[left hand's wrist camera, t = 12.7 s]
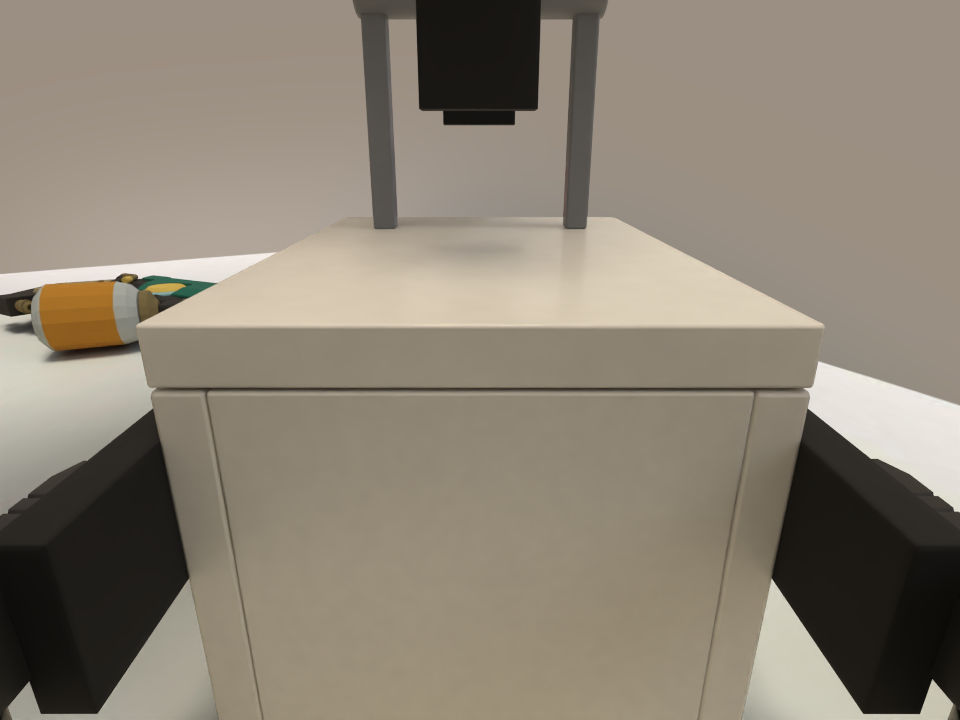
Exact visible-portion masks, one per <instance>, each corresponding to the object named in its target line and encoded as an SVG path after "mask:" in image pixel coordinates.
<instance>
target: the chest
mask: <svg viewBox="0 0 960 720" xmlns="http://www.w3.org/2000/svg"><path fill="white" fill-rule="evenodd" d="M809 399H810V395H809V392H808V391H806V390H805V389H804V388H157V389H155V390H154V391H153V392H152V394H151V400H152V405H153V409H154V414H155V419H156V424H157V428H158V433H159V438H160V443H161V447H162V452H163V457H164V462H165V466H166V471H167V476H168V481H169V485H170V490H171V495H172V500H173V504H174V509H175V514H176V519H177V523H178V528H179V533H180V538H181V542H182V547H183V552H184V557H185V561H186V566H187V571H188V576H189V580H190V585H191V590H192V594H193V599H194V604H195V609H196V613H197V618H198V623H199V628H200V632H201V637H202V642H203V647H204V651H205V656H206V661H207V666H208V670H209V675H210V680H211V685H212V689H213V694H214V699H215V704H216V708H217V713H218V718H219V720H742V716H743V711H744V706H745V701H746V697H747V692H748V687H749V683H750V678H751V673H752V668H753V664H754V659H755V654H756V650H757V645H758V640H759V635H760V631H761V626H762V621H763V616H764V612H765V607H766V602H767V598H768V593H769V588H770V583H771V579H772V574H773V569H774V564H775V560H776V555H777V550H778V546H779V541H780V536H781V531H782V527H783V522H784V517H785V513H786V508H787V503H788V498H789V494H790V489H791V484H792V479H793V475H794V470H795V465H796V461H797V456H798V451H799V446H800V442H801V437H802V432H803V427H804V423H805V418H806V413H807V409H808V404H809Z"/></svg>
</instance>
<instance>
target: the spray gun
mask: <svg viewBox="0 0 960 720" xmlns="http://www.w3.org/2000/svg"><path fill="white" fill-rule="evenodd" d="M215 284H217V283H209V282H200V281H191V280H183V279H174V278H170V277H162V276H148V277H144V278H142V279H138V276H137V275H135V274H126V273H124V274H121V275H120V276H118V277H117V278H116V279H115V280H99V281H85V282H70V283H56V284H45V285H43V286H42V287H38V288H33V289H29V290H25V291H21V292H16V293H12V294H6V295H0V314H2V315H7V316H11V317H12V316H19V315H25V314H31V318H32V325H33V328H34V331H35V334H36V336H37V337H38V339H39V340H40V341H41V342H42V343H43V344H44V345H46V346H47V347H49V348H50V349H51V350H53V351H61V350H71V349H81V348H92V347H102V346H112V345H122V344H129V343H132V342H135V341H138V336H137V332H136V326H137V324H139V323H141V322H143V321H145V320H147V319H149V318H151V317H153V316H155V315H157V314H159V313H160V312H162V311H164V310H166V309H168V308H170V307H172V306H174V305H176V304H178V303H180V302H182V301H184V300H186V299H188V298H190V297H192V296H194V295H196V294H198V293H200V292H202V291H204V290H206V289H207V288H209V287H211V286H213V285H215Z"/></svg>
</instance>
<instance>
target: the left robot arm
mask: <svg viewBox="0 0 960 720" xmlns="http://www.w3.org/2000/svg"><path fill="white" fill-rule="evenodd" d="M188 579H189V576H188V571H187V566H186V561H185V557H184V552H183V547H182V542H181V538H180V533H179V528H178V523H177V519H176V514H175V509H174V504H173V500H172V495H171V490H170V485H169V481H168V476H167V471H166V466H165V462H164V457H163V452H162V447H161V443H160V438H159V433H158V428H157V424H156V419H155V414H154V409H152V410H151V411H149V412H148V413H147V414H146V415H144V416H143V417H142V418H141V419H139V420H138V421H137V422H136V423H134V424H133V425H132V426H131V427H129V428H128V429H127V430H126V431H124V432H123V433H122V434H121V435H119V436H118V437H117V438H116V439H114V440H113V441H112V442H111V443H109V444H108V445H107V446H106V447H104V448H103V449H102V450H100V451H99V452H98V453H97V454H95V455H94V456H93V457H92V458H90V459H89V460H88V461H83V462H81V463H78V464H76V465H74V466H72V467H70V468H68V469H66V470H64V471H62V472H60V473H58V474H56V475H54V476H52V477H51V478H49V479H48V480H47V481H45V482H44V483H43V484H41V485H40V486H39V487H38V488H36V489H35V490H34V491H32V492H31V493H30V494H28V498H23V499H22V500H21V501H19V502H18V503H17V504H15V505H14V506H13V507H11V508H10V509H9V510H8V514H2V515H1V516H0V720H12V718H11V715H10V712H9V710H8V706H9V705H10V703H11V702H12V701H13V700H14V699H15V697H16V696H17V695H18V694H19V693H20V692H21V690H22V689H23V688H24V687H25V686H26V684H27V683H28V682H29V681H30V684H31V687H32V690H33V693H34V695H35V698H36V701H37V704H38V707H39V709H40V712H41V714H98V712H99V711H100V709H101V708H102V706H103V705H104V703H105V702H106V700H107V699H108V697H109V696H110V694H111V693H112V691H113V690H114V688H115V687H116V685H117V684H118V682H119V681H120V679H121V678H122V677H123V675H124V674H125V672H126V671H127V669H128V668H129V666H130V665H131V663H132V662H133V660H134V659H135V657H136V656H137V654H138V653H139V651H140V650H141V648H142V647H143V645H144V644H145V642H146V641H147V640H148V638H149V637H150V635H151V634H152V632H153V631H154V629H155V628H156V626H157V625H158V623H159V622H160V620H161V619H162V617H163V616H164V614H165V613H166V611H167V610H168V608H169V607H170V605H171V604H172V603H173V601H174V600H175V598H176V597H177V595H178V594H179V592H180V591H181V589H182V588H183V586H184V585H185V583H186V582H187V580H188ZM772 579H773V581H774V582H775V584H776V585H777V587H778V588H779V590H780V591H781V593H782V594H783V596H784V597H785V599H786V600H787V602H788V603H789V604H790V606H791V607H792V609H793V610H794V612H795V613H796V615H797V616H798V618H799V619H800V621H801V622H802V624H803V625H804V627H805V628H806V630H807V631H808V633H809V634H810V636H811V637H812V639H813V640H814V641H815V643H816V644H817V646H818V647H819V649H820V650H821V652H822V653H823V655H824V656H825V658H826V659H827V661H828V662H829V664H830V665H831V667H832V668H833V670H834V671H835V673H836V674H837V675H838V677H839V678H840V680H841V681H842V683H843V684H844V686H845V687H846V689H847V690H848V692H849V693H850V695H851V696H852V698H853V699H854V701H855V702H856V704H857V705H858V707H859V708H860V710H861V711H862V712H863V714H920V712H921V709H922V706H923V704H924V701H925V698H926V695H927V692H928V690H929V687H930V684H931V681H932V679H933V680H934V681H935V683H936V684H937V685H938V686H939V687H940V688H941V690H942V691H943V692H944V693H945V694H946V696H947V697H948V698H949V699H950V700H951V701H952V703H953V704H954V705H953V707H952V710H951V712H950V715H949V718H948V720H960V512H954V510H953V507H952V506H950V505H949V504H948V503H946V502H945V501H944V500H942V499H941V498H940V497H939V496H934V495H933V492H932V491H931V490H929V489H928V488H927V487H925V486H924V485H923V484H921V483H920V482H919V481H918V480H916V479H915V478H914V477H912V476H911V475H910V474H908V473H906V472H904V471H901V470H899V469H897V468H895V467H893V466H891V465H889V464H887V463H885V462H883V461H881V460H879V459H870V458H869V457H868V456H867V455H865V454H864V453H863V452H861V451H860V450H859V449H858V448H856V447H855V446H854V445H853V444H851V443H850V442H849V441H848V440H846V439H845V438H844V437H843V436H841V435H840V434H839V433H838V432H836V431H835V430H834V429H833V428H831V427H830V426H829V425H828V424H826V423H825V422H824V421H823V420H821V419H820V418H819V417H818V416H816V415H815V414H814V413H813V412H811V411H810V410H809V409H807V413H806V418H805V423H804V427H803V432H802V437H801V442H800V446H799V451H798V456H797V461H796V465H795V470H794V475H793V479H792V484H791V489H790V494H789V498H788V503H787V508H786V513H785V517H784V522H783V527H782V531H781V536H780V541H779V546H778V550H777V555H776V560H775V564H774V569H773V574H772Z"/></svg>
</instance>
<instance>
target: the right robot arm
mask: <svg viewBox="0 0 960 720" xmlns="http://www.w3.org/2000/svg"><path fill="white" fill-rule="evenodd" d="M540 19H541V0H416V24H417V54H418V83H419V109H420V110H422V111H443V121H444V125H514V124H515V111H535V110H537V109H538V82H539V51H540Z"/></svg>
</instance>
